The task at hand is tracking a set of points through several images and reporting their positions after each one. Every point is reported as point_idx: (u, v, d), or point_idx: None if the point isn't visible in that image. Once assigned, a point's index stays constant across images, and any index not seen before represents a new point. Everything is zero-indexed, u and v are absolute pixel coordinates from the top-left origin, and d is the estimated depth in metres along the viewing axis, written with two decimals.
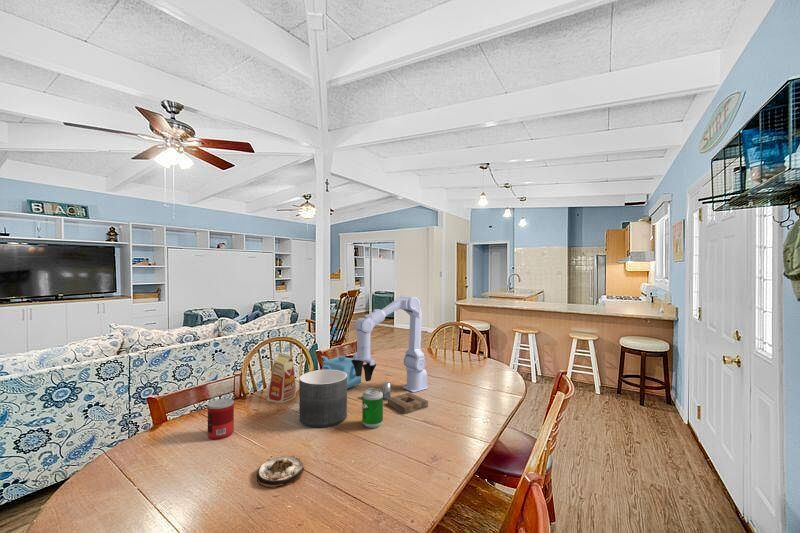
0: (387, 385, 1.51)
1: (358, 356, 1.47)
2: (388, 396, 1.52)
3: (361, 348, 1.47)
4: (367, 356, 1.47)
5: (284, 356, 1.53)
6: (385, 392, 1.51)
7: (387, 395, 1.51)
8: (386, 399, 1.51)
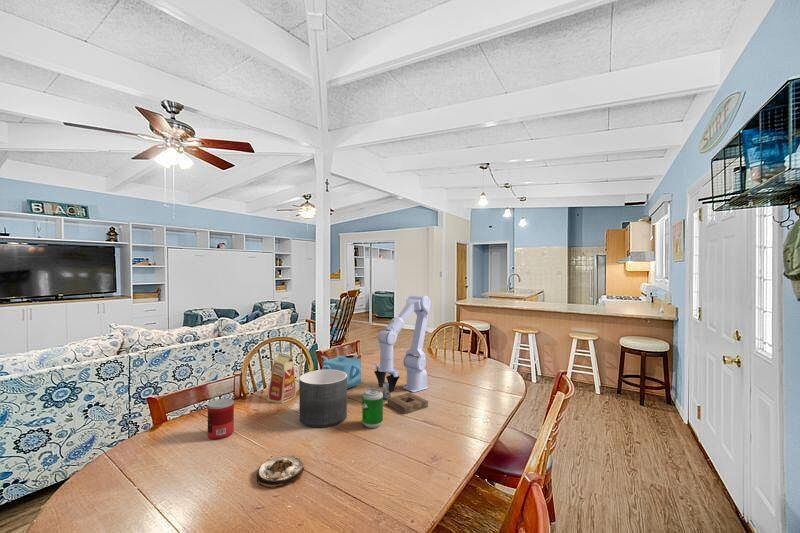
0: (387, 385, 1.51)
1: (382, 368, 1.51)
2: (388, 396, 1.52)
3: (385, 360, 1.50)
4: (390, 368, 1.51)
5: (284, 356, 1.53)
6: (385, 392, 1.51)
7: (387, 395, 1.51)
8: (386, 399, 1.51)
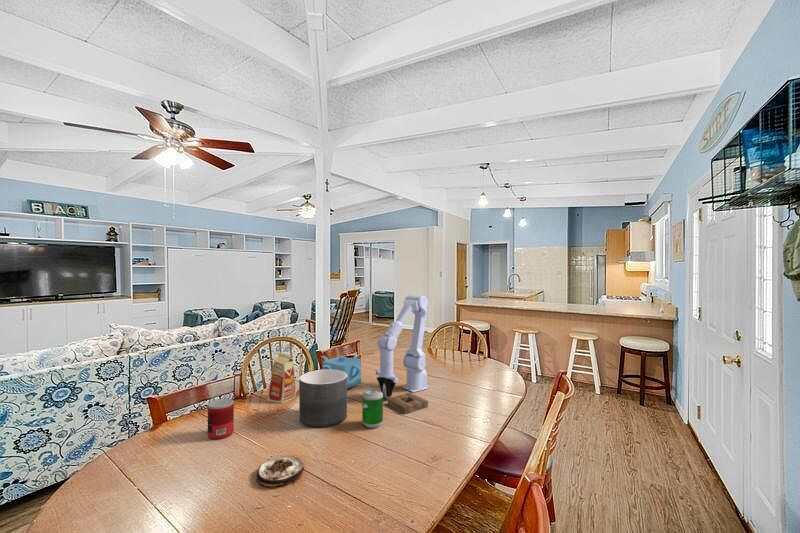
0: None
1: (382, 373, 1.51)
2: None
3: (385, 365, 1.50)
4: (390, 373, 1.51)
5: (284, 356, 1.53)
6: (385, 392, 1.51)
7: None
8: (386, 399, 1.51)
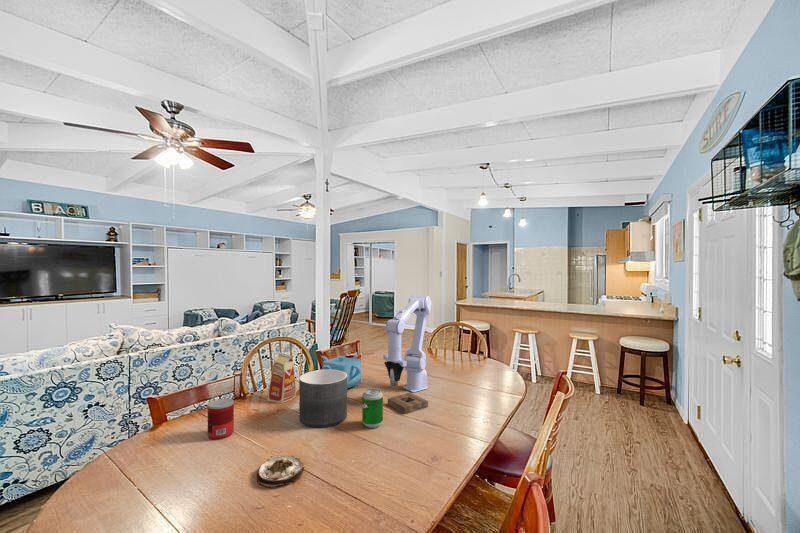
0: None
1: (389, 357, 1.48)
2: (395, 382, 1.49)
3: (393, 349, 1.47)
4: (398, 357, 1.48)
5: (284, 356, 1.53)
6: (392, 377, 1.49)
7: (394, 381, 1.48)
8: (393, 385, 1.48)
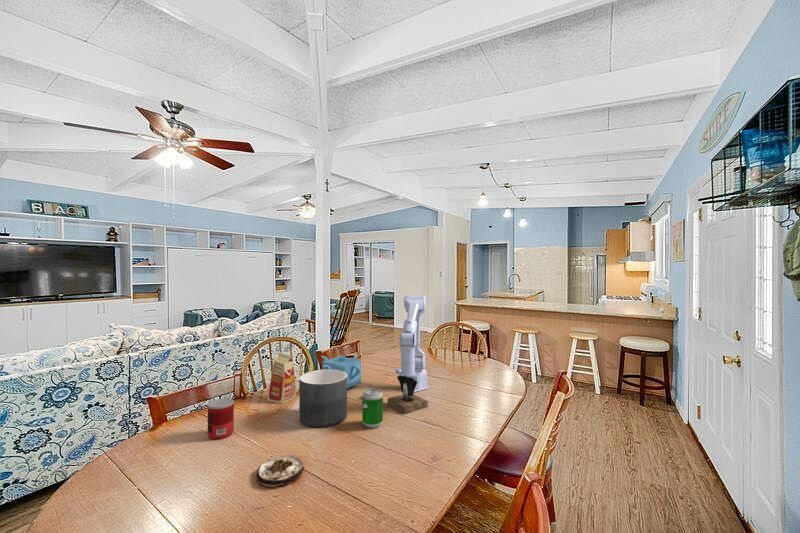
0: None
1: (403, 372, 1.44)
2: (409, 397, 1.44)
3: (406, 364, 1.43)
4: (412, 372, 1.44)
5: (284, 356, 1.53)
6: (406, 392, 1.44)
7: (408, 396, 1.44)
8: (407, 400, 1.44)
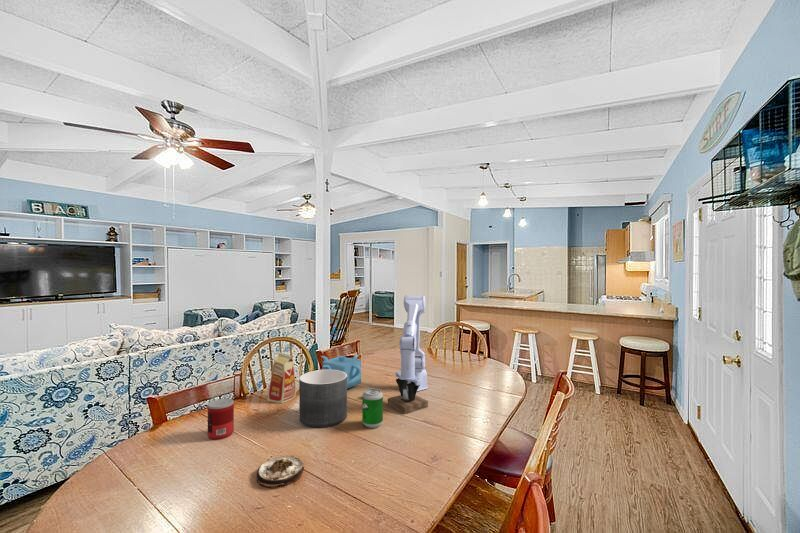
0: (408, 391, 1.44)
1: (403, 375, 1.44)
2: None
3: (406, 367, 1.43)
4: (412, 375, 1.44)
5: (284, 356, 1.53)
6: (406, 398, 1.44)
7: None
8: None
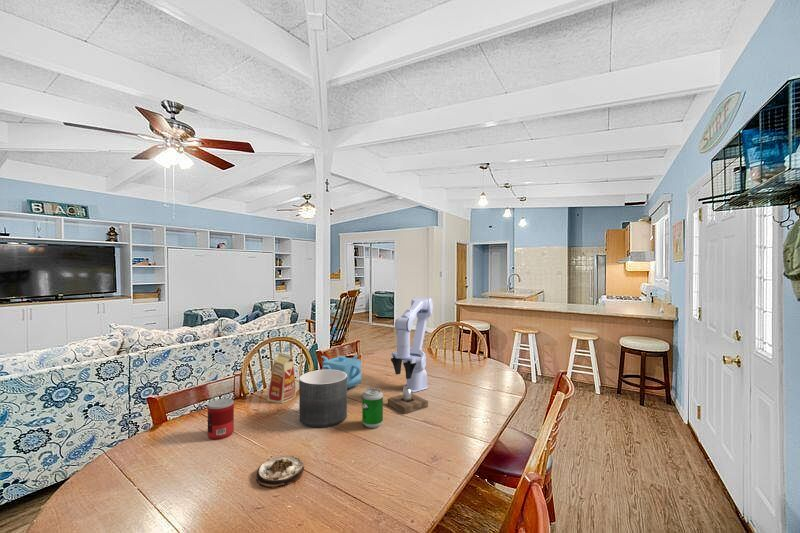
0: (408, 391, 1.44)
1: (398, 354, 1.51)
2: None
3: (402, 347, 1.50)
4: (407, 354, 1.51)
5: (284, 356, 1.53)
6: (406, 398, 1.44)
7: None
8: None
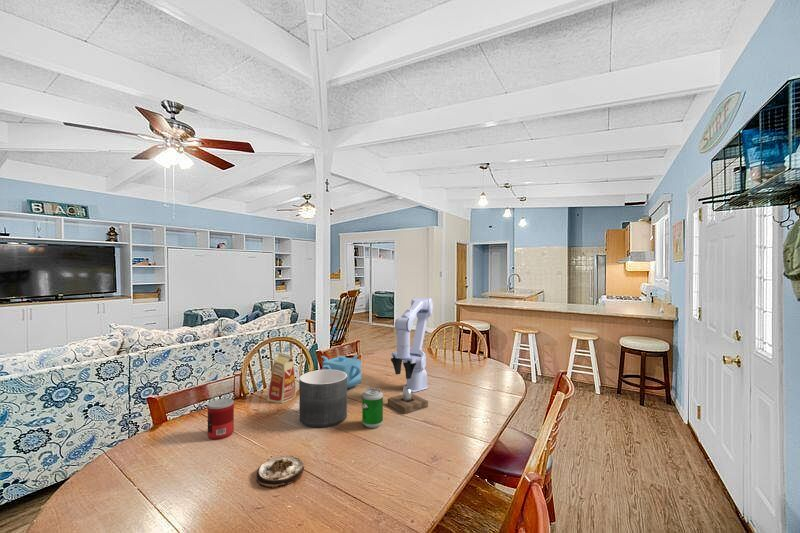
0: (408, 391, 1.44)
1: (398, 354, 1.51)
2: None
3: (402, 347, 1.50)
4: (407, 354, 1.51)
5: (284, 356, 1.53)
6: (406, 398, 1.44)
7: None
8: None
